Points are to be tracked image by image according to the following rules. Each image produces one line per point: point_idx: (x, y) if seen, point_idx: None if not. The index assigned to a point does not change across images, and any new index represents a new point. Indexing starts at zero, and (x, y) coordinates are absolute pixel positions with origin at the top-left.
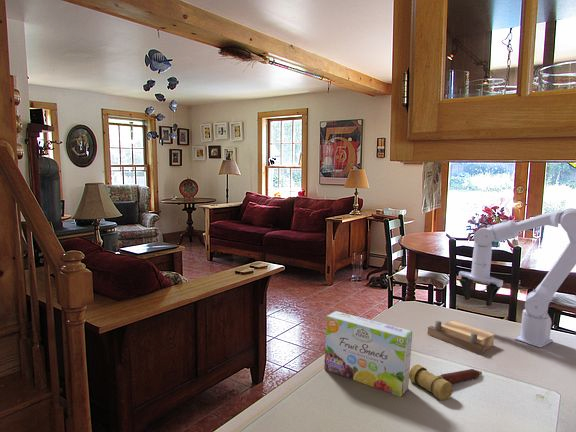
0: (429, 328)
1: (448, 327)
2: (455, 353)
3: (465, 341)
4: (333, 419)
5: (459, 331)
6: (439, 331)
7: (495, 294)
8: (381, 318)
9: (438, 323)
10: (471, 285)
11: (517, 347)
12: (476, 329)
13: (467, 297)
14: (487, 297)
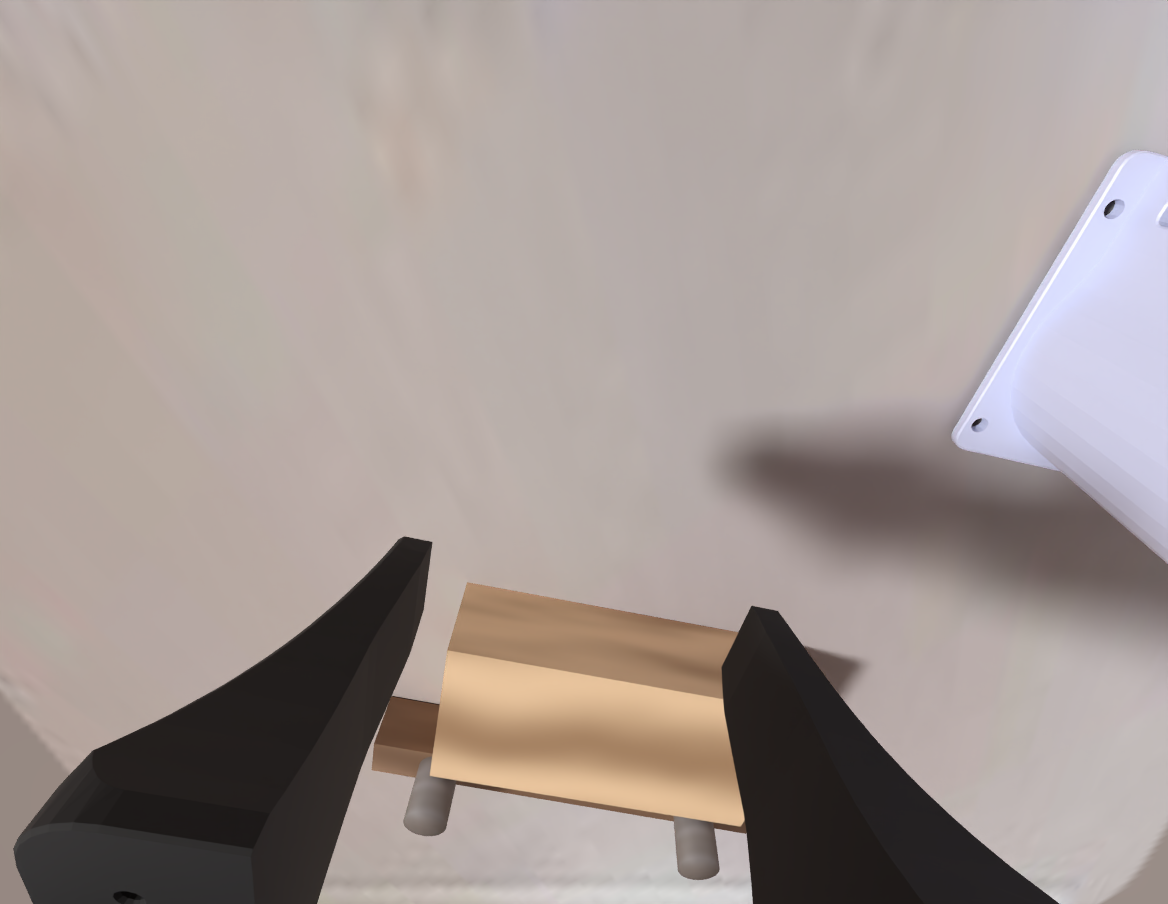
0: (386, 765)
1: (495, 775)
2: (622, 825)
3: (646, 812)
4: None
5: (581, 790)
6: (462, 783)
7: (891, 764)
8: (13, 674)
9: (436, 830)
10: (339, 704)
11: (955, 575)
12: (670, 706)
13: (416, 622)
14: (754, 810)
